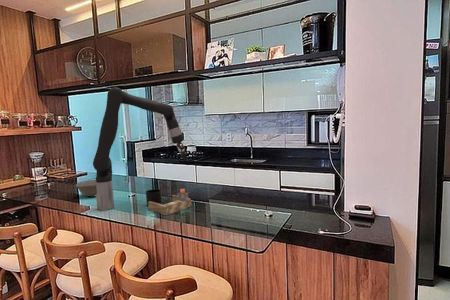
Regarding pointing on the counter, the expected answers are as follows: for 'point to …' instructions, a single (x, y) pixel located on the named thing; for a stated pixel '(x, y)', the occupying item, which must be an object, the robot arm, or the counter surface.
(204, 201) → the counter surface
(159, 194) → the mug
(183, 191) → the button
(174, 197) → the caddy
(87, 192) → the ceramic bowl
